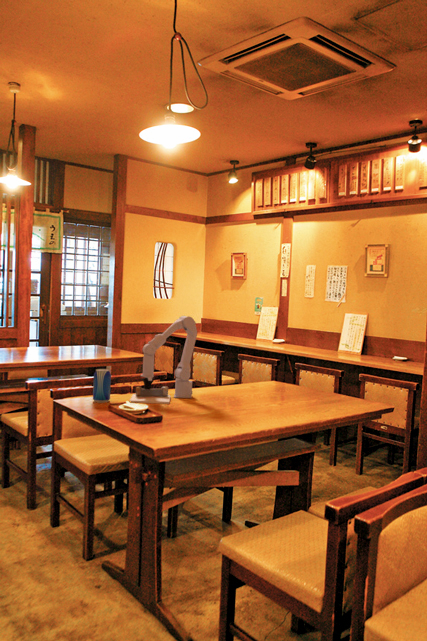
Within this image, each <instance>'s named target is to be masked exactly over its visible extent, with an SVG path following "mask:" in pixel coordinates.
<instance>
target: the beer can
mask: <svg viewBox="0 0 427 641" xmlns="http://www.w3.org/2000/svg"><path fill="white" fill-rule="evenodd" d="M111 380H112V374H111V372H110V369H107V368H97V369H95V372H94V373H93V387H92V389H93V390H92V400H93V402H94V403H96V402H97V404H105V402H106V403H108V402H110V400H111V387H112V386H111V384H112V381H111Z"/></svg>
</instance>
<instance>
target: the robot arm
mask: <svg viewBox="0 0 427 641" xmlns="http://www.w3.org/2000/svg"><path fill="white" fill-rule="evenodd" d="M196 323H197V322H196V321H195V320H194V318H193V317H192V316H189V315H188V316H186V315H181V316H179V318H177V319H176V320H174V322H173V323H172V324H171V325H170V326H169V327H168V328H167V329H165V330H164V332H162V333H158V334H155V335H154V337H153V338H152V339H151V340H150V341H148V342H147V343H146V344H144V346H143V347H142V349H141V350H142V352H143V357H142V358H143V359H142V373H141V374H140V377H142V378H141V379H142V382H143V386H144V389H152V388H151V386H152V384H153V382H154V377H155V374H154V372H155V354H156V352H157V350H159V348H161V346H163V345H164V344H165V343H166V342H167V339H168V338H169V337H170V336H171V335H172V334H173V333H175V332H176V331H177V330H181V329H182V330H184V331H185V333H186V339H185V343H184V346H183V350H182V354H181V358H180V362H179V363H178V364H177V367H176V369H175V370H174V376H175V381H174V382H175V383H174V384H175V386H174V387H175V389H174V394H173V398H181V399H192V398H193V397H192V396H193V380H190V378H191V364H190V363H191V362H192V361H191V360H192V357H193V353H194V349H195V344H196V342H197V337H198V329H197V326H196Z"/></svg>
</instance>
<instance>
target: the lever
mask: <svg viewBox="0 0 427 641" xmlns="http://www.w3.org/2000/svg"><path fill="white" fill-rule="evenodd" d="M135 394H136V396H168V395H169V387H168V386H166V385H165V386H161V388H150V389H145V388H142V386H136V387H135Z"/></svg>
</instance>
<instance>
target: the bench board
mask: <svg viewBox="0 0 427 641" xmlns="http://www.w3.org/2000/svg"><path fill="white" fill-rule="evenodd" d="M130 401H131V402H136V403H135V404H138V403H139V404H163V405H164V404H165V405H166V404H167V405H170V402H171V394H168V396H136V393H133V394H132V395H131V398H129V402H130Z"/></svg>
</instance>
